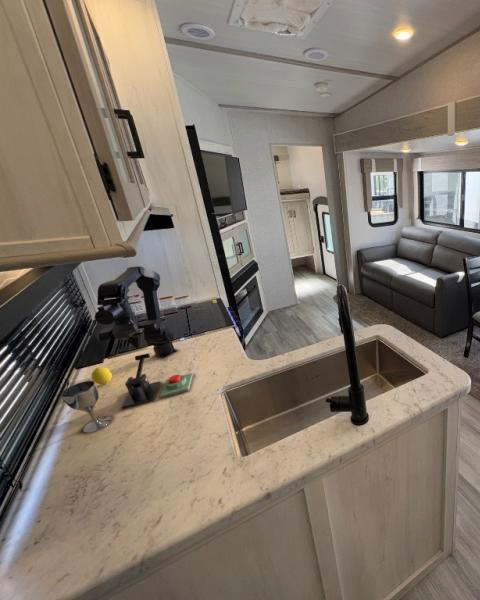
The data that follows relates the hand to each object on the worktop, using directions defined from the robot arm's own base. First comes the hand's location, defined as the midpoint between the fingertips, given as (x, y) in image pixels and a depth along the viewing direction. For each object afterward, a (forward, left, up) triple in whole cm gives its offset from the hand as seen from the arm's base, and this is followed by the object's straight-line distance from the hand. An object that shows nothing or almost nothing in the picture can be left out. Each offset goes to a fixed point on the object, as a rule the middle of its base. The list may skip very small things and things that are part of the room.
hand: (138, 348), depth 125 cm
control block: (+2, +20, -13) cm, 24 cm away
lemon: (+10, -11, -13) cm, 20 cm away
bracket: (+10, +12, -13) cm, 20 cm away
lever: (+6, +8, -6) cm, 11 cm away
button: (+2, +20, -10) cm, 23 cm away
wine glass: (+25, +13, -13) cm, 31 cm away
